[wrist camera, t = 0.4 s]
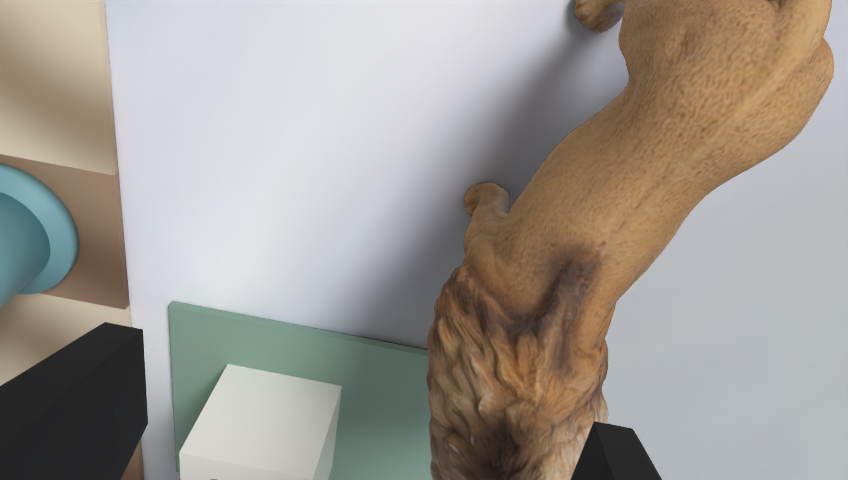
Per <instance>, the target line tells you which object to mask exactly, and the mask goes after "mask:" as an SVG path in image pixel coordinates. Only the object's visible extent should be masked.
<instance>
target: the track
mask: <svg viewBox="0 0 848 480" xmlns="http://www.w3.org/2000/svg"><path fill="white" fill-rule="evenodd" d="M0 163H3V164H7V165H11V166H13V167H16V168H19V169H21V170H23V171H25V172H27V173H29V174H31V175H33V176H34V177H36V178H37V179H39V180H40V181H42V182H43V183H44V184H46V185H47V186H48V187H49V188H50V189H51V190H52V191H54V193H55V194H56V195H57V196H58V197H59V198H60V199H61V200H62V202H63V203H64V204H65V205H66V207H67V208H68V210H69V212H70V213H71V215H72V217H73V219H74V221H75V224H76V227H77V230H78V234H79V240H80V249H79V255H78V259H77V261H76V263H75V265H74V267H73V268H72V269H71V271H70V272H69V273H68V274H67V275H66V276H65V277H64V278H63V279H62V280H61V281H60V282H58V283H57V284H56V285H55V286H54V287H52V288H50V289H49V290H46V291H44V292H40V293H36V294H16V295H15V296H14V297H12V298H11V299H10V300H9V301H8V302H7V303H6V304H5V305H4V306H3V307H1V308H0V386H1V385H3V384H4V383H6V382H8V381H9V380H11V379H13V378H14V377H16V376H18V375H19V374H21V373H23V372H24V371H26V370H27V369H29V368H31V367H32V366H34V365H36V364H37V363H39V362H40V361H42V360H44V359H45V358H47V357H49V356H50V355H52V354H53V353H55V352H57V351H58V350H60V349H61V348H63V347H65V346H66V345H68V344H70V343H71V342H73V341H74V340H76V339H78V338H79V337H81V336H82V335H84V334H86V333H87V332H89V331H91V330H92V329H94V328H96V327H97V326H99V325H101V324H103V323H104V322H108V323H113V324H118V325H123V326H128V327H131V316H130V304H129V292H128V280H127V268H126V256H125V244H124V232H123V220H122V209H121V197H120V185H119V173H118V161H117V149H116V137H115V125H114V113H113V101H112V89H111V77H110V65H109V53H108V41H107V29H106V17H105V5H104V0H0ZM121 480H144V472H143V460H142V448H141V439H140V441H139V443H138V445H137V447H136V449H135V452H134V454H133V456H132V458H131V460H130V462H129V464H128V466H127V468H126V470H125V472H124V474H123V476H122V478H121Z"/></svg>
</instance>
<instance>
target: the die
mask: <svg viewBox="0 0 848 480" xmlns="http://www.w3.org/2000/svg"><path fill="white" fill-rule="evenodd" d="M341 390H342V386H340V385H335V384H329V383H324V382H319V381H314V380H309V379H304V378H298V377H293V376H288V375H283V374H278V373H273V372H267V371H262V370H257V369H252V368H247V367H242V366H236V365H231V364H227V366H226V368H225V370H224V371H223V373H222V375H221V377H220V379H219V381H218V382H217V384H216V386H215V388H214V390H213V392H212V393H211V395H210V397H209V399H208V401H207V403H206V404H205V406H204V408H203V410H202V412H201V414H200V415H199V417H198V419H197V421H196V423H195V425H194V426H193V428H192V430H191V432H190V434H189V436H188V437H187V439H186V441H185V443H184V445H183V446H182V448H181V450H180V452H179V460H180V480H328V479H329V476H330V472H331V469H332V465H333V456H334V448H335V440H336V431H337V423H338V415H339V407H340V398H341Z"/></svg>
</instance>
